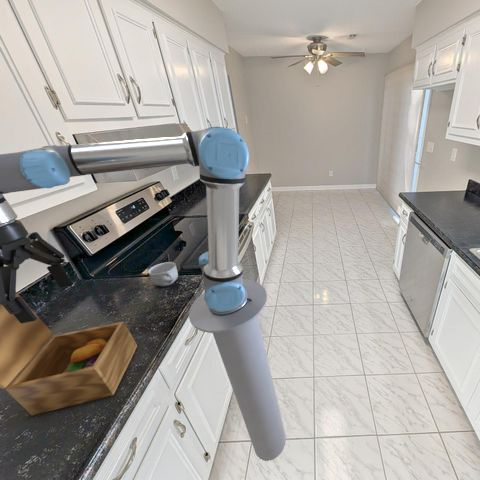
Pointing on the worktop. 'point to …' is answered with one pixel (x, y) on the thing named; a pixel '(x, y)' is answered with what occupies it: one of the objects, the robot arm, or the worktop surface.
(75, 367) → the cheeseburger
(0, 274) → the robot arm
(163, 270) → the teacup
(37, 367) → the chest
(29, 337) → the lid
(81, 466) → the worktop surface
